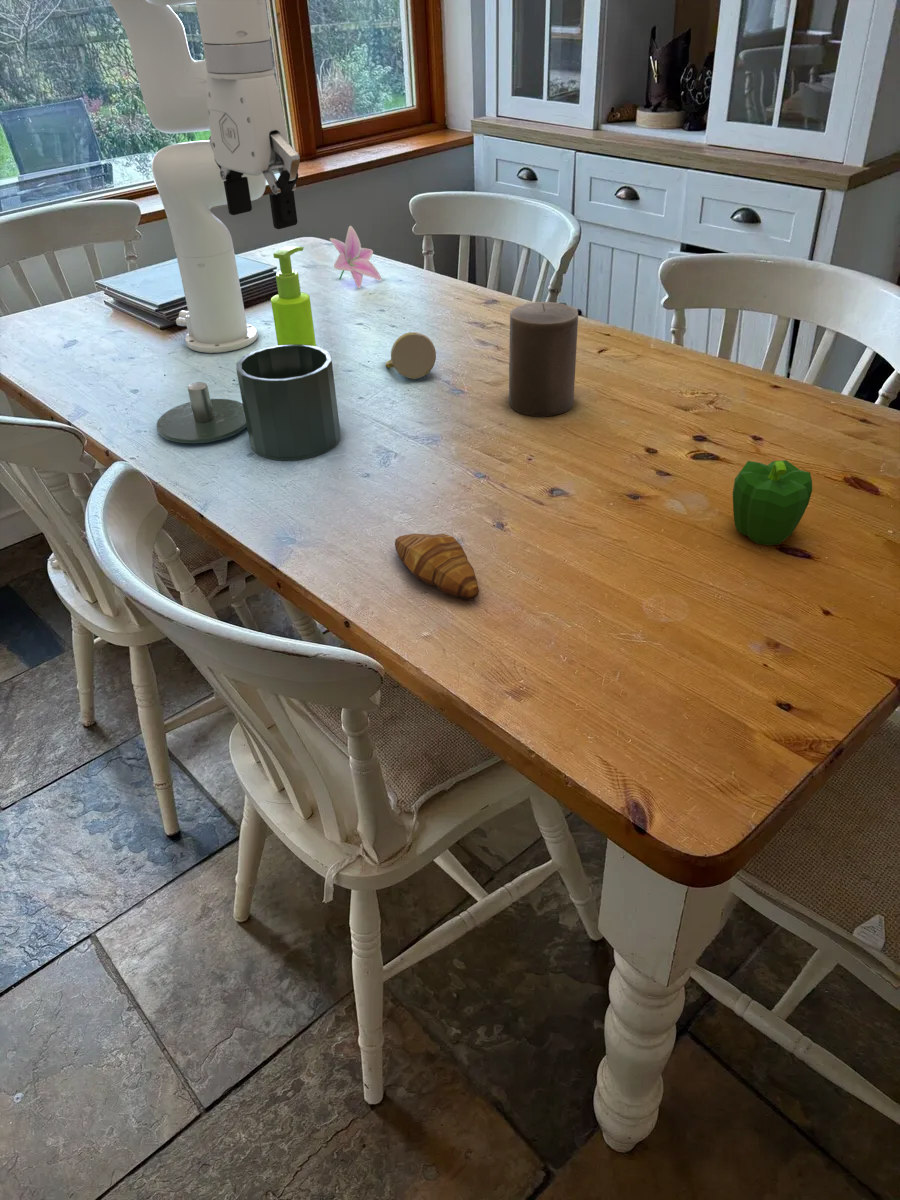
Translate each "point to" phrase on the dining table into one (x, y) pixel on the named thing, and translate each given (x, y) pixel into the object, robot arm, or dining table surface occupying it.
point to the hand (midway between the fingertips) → (262, 219)
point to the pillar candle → (542, 358)
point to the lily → (354, 258)
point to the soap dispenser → (291, 304)
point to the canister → (289, 401)
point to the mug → (412, 355)
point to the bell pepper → (770, 500)
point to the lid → (202, 418)
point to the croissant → (439, 563)
